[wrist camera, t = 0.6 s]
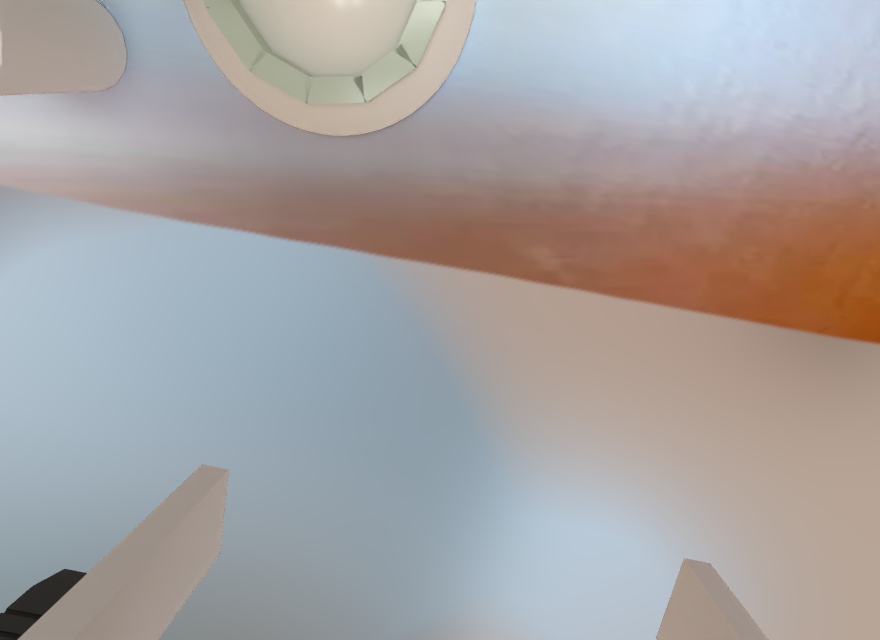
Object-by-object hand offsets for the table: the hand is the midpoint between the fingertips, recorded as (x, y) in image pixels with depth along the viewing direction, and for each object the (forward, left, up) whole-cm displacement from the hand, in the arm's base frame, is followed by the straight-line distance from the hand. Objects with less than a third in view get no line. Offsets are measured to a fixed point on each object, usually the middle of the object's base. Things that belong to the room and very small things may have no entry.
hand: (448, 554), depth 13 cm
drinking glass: (-2, -28, -26) cm, 38 cm away
